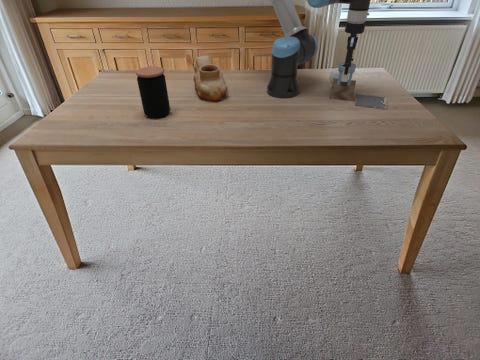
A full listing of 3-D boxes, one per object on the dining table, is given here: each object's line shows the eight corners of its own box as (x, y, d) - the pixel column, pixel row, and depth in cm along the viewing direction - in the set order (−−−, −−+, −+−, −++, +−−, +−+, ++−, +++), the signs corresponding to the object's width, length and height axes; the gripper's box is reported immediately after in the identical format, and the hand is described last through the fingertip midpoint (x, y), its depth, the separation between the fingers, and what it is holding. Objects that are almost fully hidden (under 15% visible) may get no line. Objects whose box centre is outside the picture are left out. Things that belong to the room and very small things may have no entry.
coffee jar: (175, 110, 131) (169, 67, 120) (162, 121, 123) (154, 76, 112) (153, 107, 134) (145, 65, 123) (139, 117, 126) (129, 73, 115)
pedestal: (329, 98, 140) (331, 85, 136) (331, 90, 147) (333, 78, 143) (352, 101, 137) (355, 88, 133) (353, 93, 144) (356, 80, 141)
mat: (355, 105, 133) (355, 104, 133) (356, 94, 143) (356, 93, 143) (387, 109, 130) (387, 108, 129) (386, 98, 139) (386, 97, 139)
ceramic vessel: (216, 81, 159) (214, 51, 150) (231, 100, 139) (230, 67, 130) (190, 85, 155) (186, 54, 146) (201, 105, 135) (198, 70, 126)
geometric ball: (331, 89, 156) (323, 75, 154) (340, 79, 159) (332, 66, 156) (341, 85, 150) (334, 71, 147) (351, 76, 152) (343, 62, 149)
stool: (335, 84, 137) (338, 66, 132) (336, 79, 142) (340, 61, 137) (351, 86, 135) (355, 68, 130) (352, 81, 140) (356, 63, 135)
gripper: (365, 27, 115) (352, 87, 129) (366, 17, 130) (354, 72, 144) (344, 26, 117) (334, 85, 131) (348, 17, 132) (338, 71, 146)
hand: (344, 78), depth 137 cm, fingers closed on stool, 7 cm apart
